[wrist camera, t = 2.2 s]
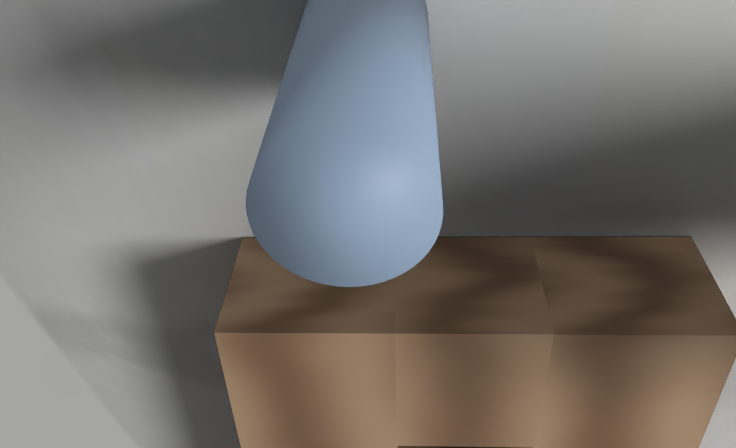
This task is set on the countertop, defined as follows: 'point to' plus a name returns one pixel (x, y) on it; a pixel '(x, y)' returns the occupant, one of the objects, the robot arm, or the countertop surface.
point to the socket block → (482, 348)
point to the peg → (351, 147)
